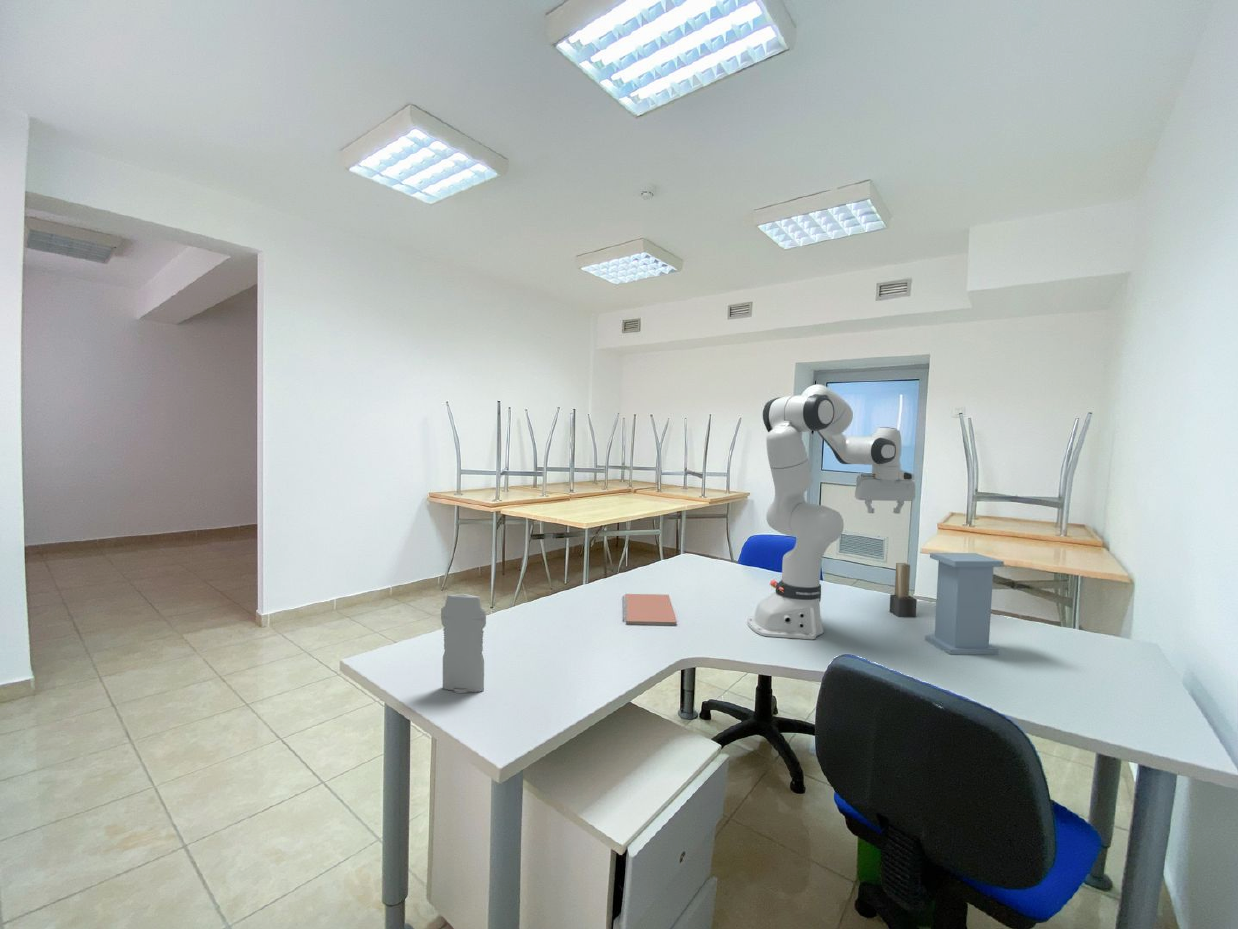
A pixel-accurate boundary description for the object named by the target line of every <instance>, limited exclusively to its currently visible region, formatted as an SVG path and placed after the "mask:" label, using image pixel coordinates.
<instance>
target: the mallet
mask: <svg viewBox="0 0 1238 929" xmlns="http://www.w3.org/2000/svg"><path fill="white" fill-rule="evenodd" d="M910 574H911V564H909V563H906V562H896V563H895V578H894V580H895V581H894V594H890V595H889V596H890V597H889V613H891V614H892V613H893V614H892V615H894V616H896V617H897V618H916V617H917V604H918V603H917V601H918V599H917V598H914V597H912V596H911V595H909V594H910V580H911V579H910V577H911V576H910Z"/></svg>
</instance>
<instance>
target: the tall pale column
mask: <svg viewBox="0 0 1238 929" xmlns="http://www.w3.org/2000/svg"><path fill="white" fill-rule="evenodd" d="M440 620H441V625H442V626H443V629H442V630H443V650H444V652H443V654H442V655H443V656H442V690H446V691H450V690H451V692H455V693H456V694H465V693H481V692H484V691H485V658H484V655H483V651H484V646H483V644H484V633H485V631H484V630H483V629H484V628H485V627H486V624H487V610H485V609H484V608H483V606H482V601H481V597H480V596H478V595H472V594H467V593H457V594H447V596H446V600H445V603H444V606H443V607H442V608H441V609H440Z"/></svg>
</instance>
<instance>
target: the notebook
mask: <svg viewBox="0 0 1238 929" xmlns="http://www.w3.org/2000/svg"><path fill="white" fill-rule="evenodd" d="M621 600H622V602H621V603H622V620H624V619H625V625H626V626H627V625H631V626H632V625H633V626H634V625H636V626H637V625H638V626H640V625H641V626H677V623H678V620H677V617H676V614H675V609H674V608H673V605H672V601H671V597H670V595H669V594H659V593H657V594H654V593H653V594H652V593H649V594H648V593H625V594H624V595H622V597H621Z"/></svg>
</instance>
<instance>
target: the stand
mask: <svg viewBox="0 0 1238 929" xmlns="http://www.w3.org/2000/svg"><path fill="white" fill-rule="evenodd" d="M929 559H931V560H935V561H938V563H937V564H938V565H937V584H936V602H935V603H936V606H935V619H934V620H935V622H934V634H925V638H924V639H925V641H926V642H927V643H929V642H930V643H929V644H931V645H933V644H934V645H935V646H934V645H933V646H934V647H936V646H937V647H936V648H938V649H939V648H940V650H942V651H943V650H944V651H945V653H946V652H947V653H946V654H948V655H949V654H950V655H951V656H952V655H954V654H963V655H965V654H967V655H968V654H969V655H970V654H971V655H999V648H997V647H995V646H993V645H991V644H990V633H991V632H990V631H991V630H990V629H991V613H992V601H993V600H992V596H993V583H994V568H996V567H997V568H1003V567H1004V564H1005V561H1003V560H1000V559H997V558H994V557H990V556H987V555H983V554H980V553H977V552H930V553H929ZM944 651H943V652H944ZM963 655H962V656H963ZM954 656H955V655H954ZM965 656H966V655H965Z"/></svg>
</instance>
